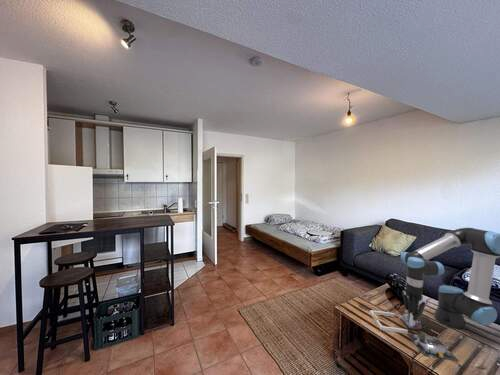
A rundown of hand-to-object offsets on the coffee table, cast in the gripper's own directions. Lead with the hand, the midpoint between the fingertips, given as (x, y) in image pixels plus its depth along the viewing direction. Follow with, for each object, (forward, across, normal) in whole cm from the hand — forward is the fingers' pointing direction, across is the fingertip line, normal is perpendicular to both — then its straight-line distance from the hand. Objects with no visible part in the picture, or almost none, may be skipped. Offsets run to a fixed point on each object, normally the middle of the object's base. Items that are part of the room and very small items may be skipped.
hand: (412, 324), depth 118 cm
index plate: (+9, +7, +4) cm, 13 cm away
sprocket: (+9, +7, +4) cm, 12 cm away
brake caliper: (+9, -8, +12) cm, 18 cm away
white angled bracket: (+9, -14, +1) cm, 17 cm away
